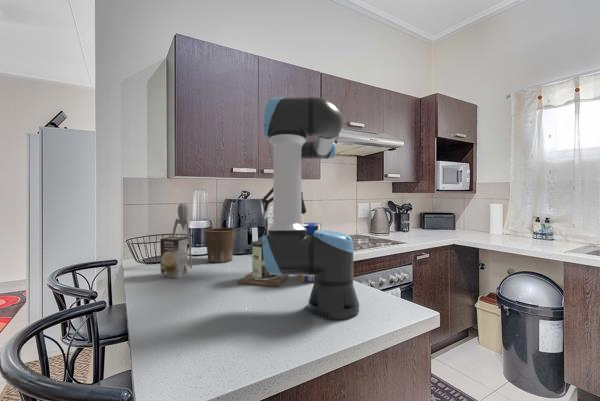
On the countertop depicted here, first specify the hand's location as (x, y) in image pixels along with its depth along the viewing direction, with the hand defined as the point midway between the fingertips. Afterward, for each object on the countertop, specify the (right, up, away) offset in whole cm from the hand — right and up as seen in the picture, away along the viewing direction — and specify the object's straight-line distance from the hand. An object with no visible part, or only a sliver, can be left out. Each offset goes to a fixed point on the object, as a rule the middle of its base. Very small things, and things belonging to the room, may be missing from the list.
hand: (280, 222), depth 129 cm
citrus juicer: (-46, -22, +12) cm, 52 cm away
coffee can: (-6, -21, -9) cm, 24 cm away
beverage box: (+13, -22, -8) cm, 27 cm away
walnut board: (-6, -22, -9) cm, 25 cm away
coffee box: (-45, -22, -4) cm, 50 cm away
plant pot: (-32, -22, +24) cm, 46 cm away
